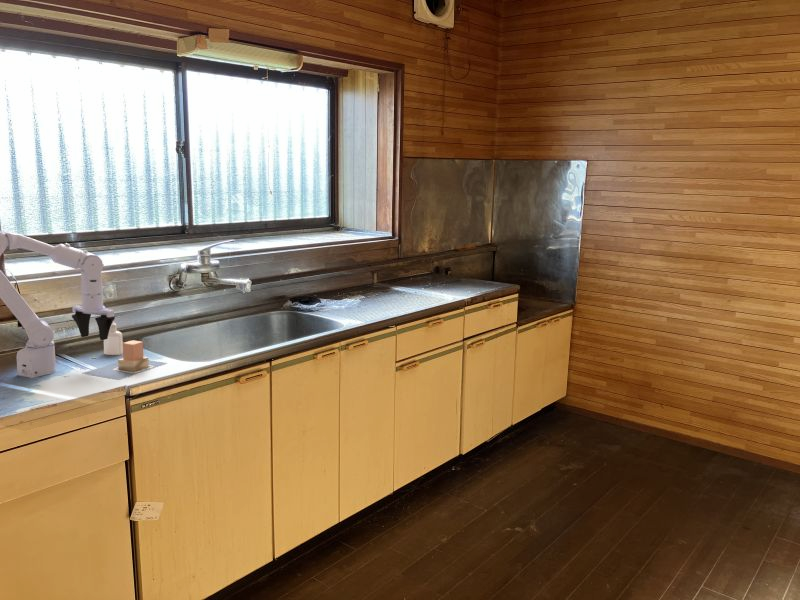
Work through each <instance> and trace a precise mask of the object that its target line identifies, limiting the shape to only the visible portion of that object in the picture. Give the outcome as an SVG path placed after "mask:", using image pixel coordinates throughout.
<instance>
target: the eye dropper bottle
mask: <svg viewBox="0 0 800 600" xmlns="http://www.w3.org/2000/svg"><path fill="white" fill-rule="evenodd" d="M117 326H118V325H117V323H115V320H114V321H113V322H112V324H111V327H110V330H109V334H108V338H107V339H105V340H103V353H104V355H107V356H108V355H109V356H120V355H123V343H124V341H123V332H121V331H119V330H117V328H118V327H117Z"/></svg>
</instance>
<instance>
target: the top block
mask: <svg viewBox="0 0 800 600" xmlns="http://www.w3.org/2000/svg"><path fill="white" fill-rule="evenodd" d="M143 357H144V342H143V341H142V340H141V341H140V340H134V339H133V340H128V341H126V342H123V354H122V358H123V359H125V360H131V361H135V360H138V359H141V358H143Z"/></svg>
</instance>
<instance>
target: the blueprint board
mask: <svg viewBox="0 0 800 600" xmlns="http://www.w3.org/2000/svg"><path fill="white" fill-rule="evenodd" d="M148 360H149V367H147V368H144V369H141V370H138V371H135V372H132V371H126V370H120V369H118V361H117V362H114V363H110V364H107V365H104V366H101V367H97V368H95V369H90V370H89V371H84V372H81V374H83V375H88V376H89V375H90V376H95V377H100V378H105V379H110V380H115V381H120V380H122V379H126V378H129V377H132V376H134V375H138V374H140V373H144V372H146V371H149V370H152V369H155V368H158V367H161V366H163V365H166V364H168V363H167V362H163V361H157V360H156V361H155V360H150V359H148Z"/></svg>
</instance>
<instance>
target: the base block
mask: <svg viewBox="0 0 800 600" xmlns="http://www.w3.org/2000/svg"><path fill="white" fill-rule="evenodd" d="M149 360H150V359H149V357H148V356H143V358H141V359H138V360H135V361H131V360H125V359H123V357H121V358H118V359H117V362H118V369H120V370H126V371H132V372H135V371H138V370H141V369H144V368H147V367H149Z"/></svg>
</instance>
